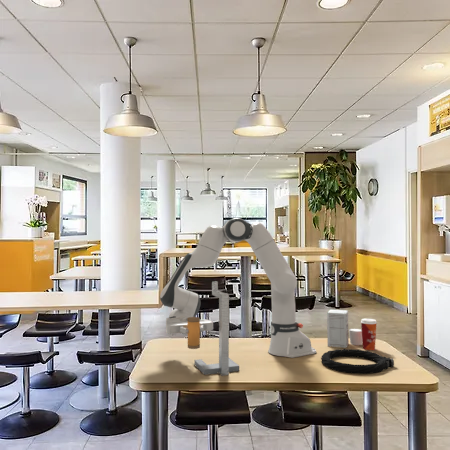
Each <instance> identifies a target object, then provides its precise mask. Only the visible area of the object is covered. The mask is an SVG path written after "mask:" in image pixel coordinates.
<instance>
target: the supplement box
mask: <svg viewBox="0 0 450 450" xmlns="http://www.w3.org/2000/svg"><path fill="white" fill-rule="evenodd" d="M326 315H327V316H326V318H327V319H326V320H327V321H326V323H327V325H326V328H327V333H326V334H327V347H331V346H332V347H335V348H342V349H348V346H349V343H350V339H349V310H345V309H329V310H328V312H327V314H326ZM332 347H331V348H332Z"/></svg>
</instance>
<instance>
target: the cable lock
mask: <svg viewBox="0 0 450 450" xmlns="http://www.w3.org/2000/svg"><path fill="white" fill-rule="evenodd" d="M345 357H346V358H358V359H366V360H369V361H372V362H375V363H370V364H369V363H368V364H352V363H345V362H340V361H337V360H333V359H335V358H345ZM320 360H321V361H320V362H321V363H322V364H323V366H325V367H326V368H329V370H330V369H331V370H335V371H337V372H340V373H341V372H342V373H347V374H359V375H361V374H362V375H363V374H376V373H379V372H383V371H384V370H387V369H389V368H388V367H391V368H394V366H395V360H394V358H391V357H386V356H382V355H381V354H378V353H376V352H372V351H371V350H364V349H362V350H361V349H352V348H350V349H349V348H340V349H332V350H328V351H326V352H324V353H323V354H322V355H321V357H320Z"/></svg>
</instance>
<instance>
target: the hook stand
mask: <svg viewBox="0 0 450 450" xmlns="http://www.w3.org/2000/svg"><path fill="white" fill-rule="evenodd" d="M218 284H219V281H216V280H215V281H212V282H211V295H212V296H214V297H215V298H219V299H218V303H219V304H218V309H219V310H218V363H219V373H218V374H219V375H220V376H222V377H223V376H229V375H230V372H229V358H230V356H229V355H230V354H229V352H230V351H229V350H230V349H229V348H230V342H229V341H230V340H229V338H230V336H229V334H230V325H229V323H230V311H229V310H230V306H229V305H230V303H229V302H230V294H229V293H227V292H223V291H221V290H219V286H218Z"/></svg>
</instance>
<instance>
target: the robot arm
mask: <svg viewBox="0 0 450 450" xmlns="http://www.w3.org/2000/svg"><path fill="white" fill-rule="evenodd" d="M242 241H245V242H247V243H248V244H249V246H250V247H251V250H252V251H253V253H254V255H255V257H256V259H257V260H258V262H259V264H260V265H261V267H262V269H263V271H264V273H265V275H266V276H267V278H268V280H269V282H270V288H271V289H270V293H271V294H270V295H271V321H270V334H271V335H270V341H269V342H270V344H269V347H268V352H267V353H269V354H270V355H274V356H278V357H287V358H292V359H293V358H298V357H303V356H309V355H314V354H317V349H316V348H314V347H312V342H311V339H310V338H309V337H308V336H307V335H306V334H305V333H303V332H302V331H301V330H300V329H303V327H304V325H303V324H302V323H299V322H297V321H296V299H295V297H296V296H295V290H296V289H297V285H298V280H297V277H296V275H295V274H294V272H293V270H292V268H291V267H290V265H289V263H288V262H287V260H286V259H285V257H284V255H283V253H282V252H281V250H280V248H279V246H278V245H277V243H276V241H275V239H274V237H273V236H272V234H271V233H270V232H269V230H268V229H267V228H266V226H265V225H264V224H263V223H261V222H254V223H252V224H251V223H249V222H248V221H246V220H245V219H242V218H240V217H233V218H231V219H229V220H227V221H226V223H225V224H224V225H222V226H217V225H209V226H208V227H206V228H205V230H204V232H203V233H202V235H201V237H200V239H199V241H198V243H197V245H196V247H195V249H193V251H192V252H188V253H187V254H185V256H184V257H183V258H182V259H181V261H180V263H179V265H178V266H177V268H176V269H175V271H174V272H173V274H172V275H171V276H170V279H169V280H168V282H167V283H166V284H165V285H164V287H162V290H161V291H160V296H159V299H160V302H161V304H162V305H163V306H164V307H168V308H173V310H171V311H170V313H169V314H168V315H169V316H168V317H166V319H165V333H166V334H167V335H172V334H173V335H174V334H175V335H176V334H181V335H188V333H189V332H188V331H189V329H188V318H189V317H197V315H198V313H199V312H200V307H201V303H202V302H201V298H200V295H199V294H198V293H196V292H193V291H191V290H187V289H185V288H183V287H180V286H179V285H180V283H181V281H182V280H183V279H184V277H185V275H186V273H187V272H188V271H189V270H190V269H194V268H209V267H211V266H214V264H216V263H217V261H218V260H219V256H220V254H221V251H222V249H223V246H224V245H225V244H226V243H232V244H235V243H240V242H242ZM213 330H214V322H213V320H210V319H206V318H203V319H202V318H201V319H200V333H204V332H207V331H213Z"/></svg>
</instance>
